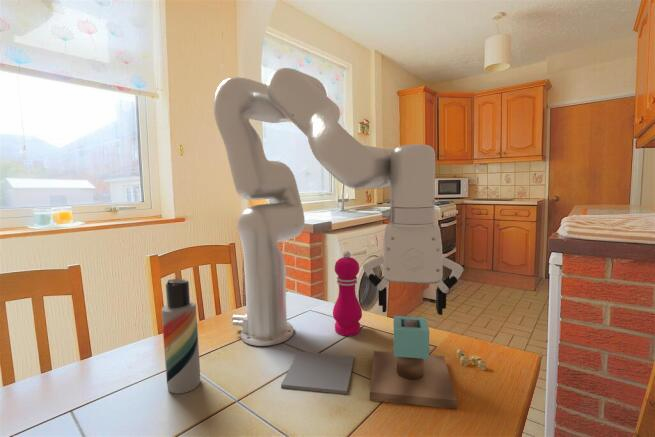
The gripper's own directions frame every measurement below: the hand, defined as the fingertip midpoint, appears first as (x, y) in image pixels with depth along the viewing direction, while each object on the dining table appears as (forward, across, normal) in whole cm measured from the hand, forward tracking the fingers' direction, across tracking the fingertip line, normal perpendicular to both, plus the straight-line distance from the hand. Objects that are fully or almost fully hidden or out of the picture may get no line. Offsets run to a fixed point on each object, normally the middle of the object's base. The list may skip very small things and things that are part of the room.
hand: (411, 310), depth 62 cm
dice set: (+14, +12, +8) cm, 20 cm away
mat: (+13, -17, 0) cm, 22 cm away
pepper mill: (+14, -14, +19) cm, 27 cm away
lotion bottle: (+13, -41, -8) cm, 44 cm away
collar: (+7, 0, 0) cm, 7 cm away
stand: (+13, 0, 0) cm, 13 cm away
